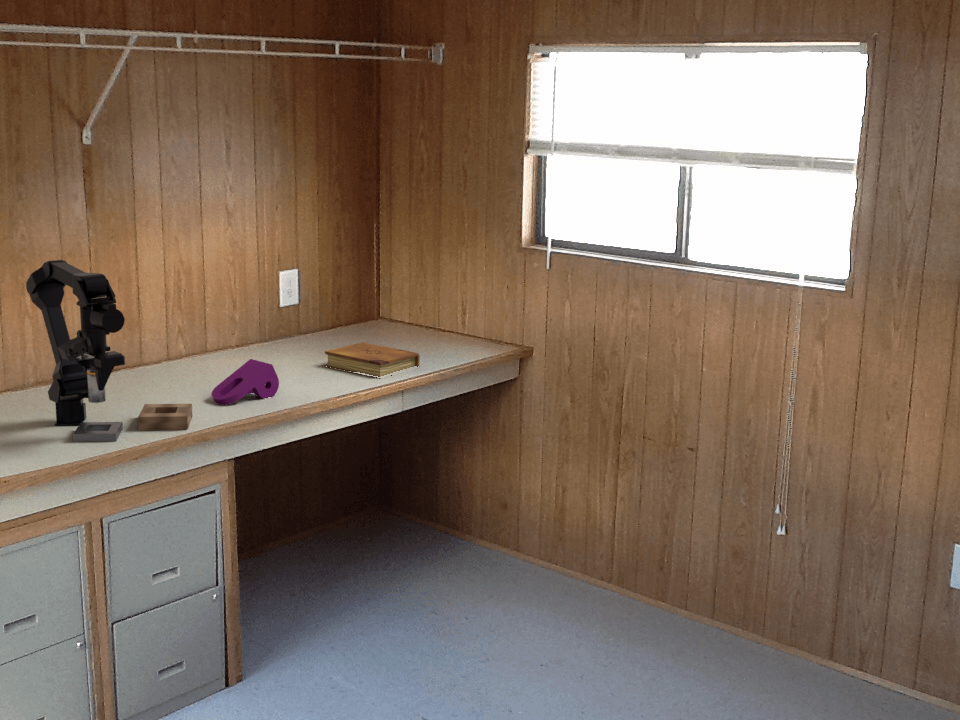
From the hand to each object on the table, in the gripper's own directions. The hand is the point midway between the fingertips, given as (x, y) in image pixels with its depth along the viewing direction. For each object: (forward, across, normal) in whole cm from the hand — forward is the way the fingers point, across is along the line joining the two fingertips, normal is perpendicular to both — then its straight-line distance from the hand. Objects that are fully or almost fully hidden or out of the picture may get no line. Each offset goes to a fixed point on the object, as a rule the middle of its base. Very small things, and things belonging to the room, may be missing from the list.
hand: (96, 388), depth 278 cm
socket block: (+12, +1, +18) cm, 22 cm away
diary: (+13, -11, +98) cm, 100 cm away
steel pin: (+3, 0, 0) cm, 3 cm away
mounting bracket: (+12, -6, +47) cm, 49 cm away
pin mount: (+12, 0, 0) cm, 12 cm away
